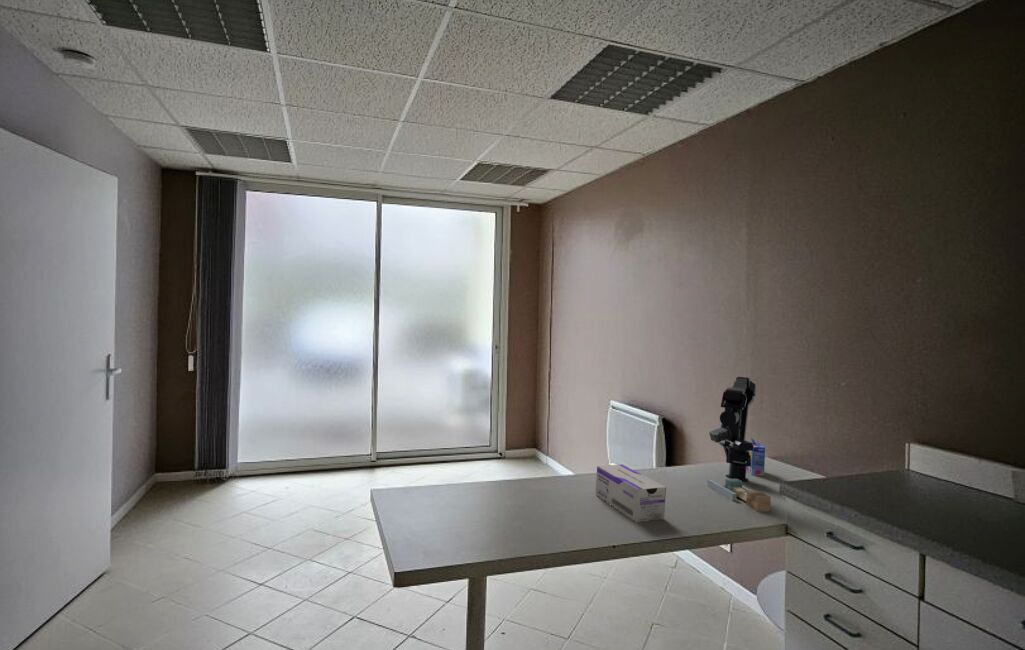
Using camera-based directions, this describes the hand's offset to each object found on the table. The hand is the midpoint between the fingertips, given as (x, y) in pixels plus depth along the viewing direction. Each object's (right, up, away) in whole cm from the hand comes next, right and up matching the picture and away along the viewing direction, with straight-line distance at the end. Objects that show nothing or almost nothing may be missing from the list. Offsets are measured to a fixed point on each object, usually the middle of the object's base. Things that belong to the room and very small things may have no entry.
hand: (729, 463), depth 203 cm
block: (+3, -12, -16) cm, 20 cm away
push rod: (+1, -10, -7) cm, 13 cm away
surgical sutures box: (-44, -10, -22) cm, 50 cm away
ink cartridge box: (+22, -11, +28) cm, 37 cm away
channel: (0, -11, -2) cm, 11 cm away
